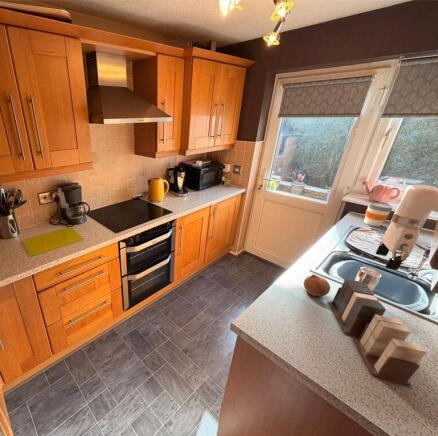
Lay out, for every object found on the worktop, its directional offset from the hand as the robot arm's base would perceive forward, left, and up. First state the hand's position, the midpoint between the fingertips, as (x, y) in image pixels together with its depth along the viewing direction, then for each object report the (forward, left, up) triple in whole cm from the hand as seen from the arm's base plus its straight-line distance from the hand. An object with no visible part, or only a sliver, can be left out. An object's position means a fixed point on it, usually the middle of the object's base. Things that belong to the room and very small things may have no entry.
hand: (385, 261), depth 87 cm
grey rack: (+7, +10, -24) cm, 26 cm away
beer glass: (-1, -5, -24) cm, 24 cm away
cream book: (+7, +11, -23) cm, 26 cm away
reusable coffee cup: (-47, -99, -24) cm, 112 cm away
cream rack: (+5, +26, -24) cm, 35 cm away
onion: (+16, -3, -24) cm, 29 cm away
